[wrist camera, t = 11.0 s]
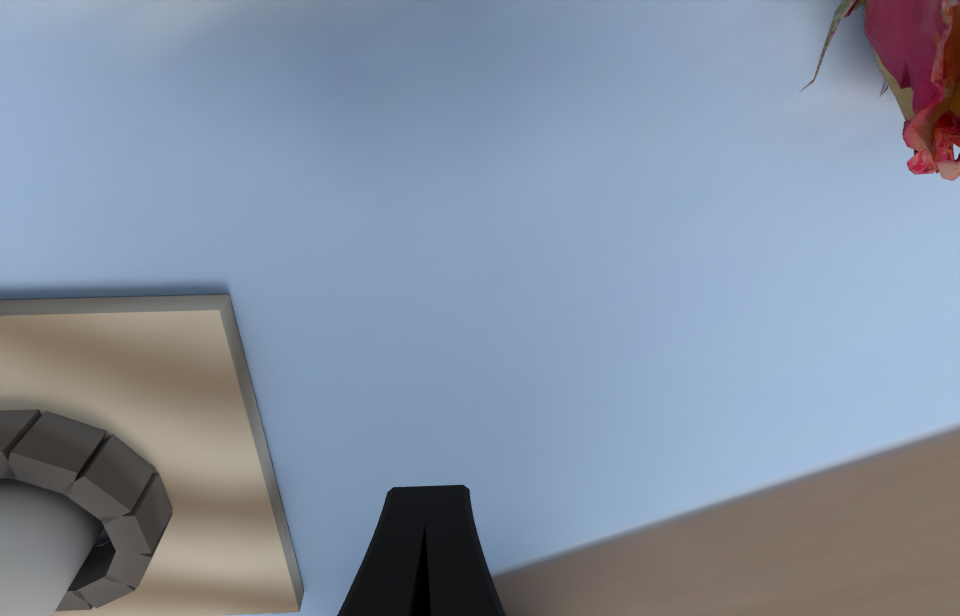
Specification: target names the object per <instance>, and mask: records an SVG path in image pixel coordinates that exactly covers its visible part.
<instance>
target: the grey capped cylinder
mask: <svg viewBox="0 0 960 616" xmlns="http://www.w3.org/2000/svg"><path fill="white" fill-rule="evenodd" d="M103 529H104V525H103V523H102V521H101V520H99V519H98V518H97V517H95V516H94V515H92V514H91V513H90V512H88V511H87V510H85V509H84V508H83V507H81V506H80V505H78V504H77V503H76V502H74V501H73V500H71V499H70V498H68V497H67V496H66V495H64V494H62V493H59V492H56V491H52V490H49V489H45V488H42V487H39V486H35V485H32V484H29V483H25V482H22V481H19V480H15V479H12V478H2V479H0V616H52V615H53V613H54V612H55V610H56V608H57V607H58V605H59V603H60V602H61V600H62V598H63V596H64V595H65V593H66V591H67V590H68V588H69V586H70V585H71V583H72V581H73V580H74V578H75V576H76V575H77V573H78V571H79V569H80V568H81V566H82V564H83V563H84V561H85V559H86V558H87V556H88V554H89V553H90V551H91V549H92V548H93V546H94V544H95V542H96V541H97V539H98V537H99V536H100V534H101V532H102V531H103Z"/></svg>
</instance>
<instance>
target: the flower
mask: <svg viewBox="0 0 960 616" xmlns="http://www.w3.org/2000/svg"><path fill="white" fill-rule="evenodd" d="M862 4H864V33H865V35H866V36H867V38H868V40H869V41H870V43H871V45H872V48H873V51H874V53H875V56H876V59H877V62H878V66H879V70H880V71H881V73H882V75H883V77H884V78H885V80H886V82H887V83H888V85H889V87H890V89H891V90H892V92H893V94H894V96H895V97H896V100H897V102H898V104H899V107H900V109H901V111H902V113H903V116H904V118H905V120H906V121H905V122H904V128H903V139H904V141H905V143H906V145H907V147H910V148H912V149H914V156H913V157H912V158H911V159H910V160H909V161H908V162H907V166H908V168H909V170H910V171H911V172H913V173H914V174H929V173H934V172H935V171H936V173H938V172H940V174H941V177H942V178H944V179H948V180H951V181H952V180H955V179H956V178H958V177H959V176H960V153H959V156H958V159H956V160H954V152H953V143H954V144H955V145H957V146H958V147H960V0H843V1H842V2H841V4H840V6H839V7H838V9H837V10H836V12H835V14H834V17H833V20H832V23H831V26H830V29H829V32H828V35H827V39H826V42H825V45H824V48H823V51H822V54H821V57H820V60H819V64H818V67H817V70H816V73H815V77H814V79H813V80H812V81H811V82H810V83H809V84H808V85H807V86H809V85H810V84H811V83H813V81H814V80H815V78H816V76H817V74H818V71H819V68H820V65H821V62H822V59H823V57H824V54H825V51H826V49H827V47H828V45H829V43H830V41H831V39H832V37H833V35H834V33H835V30H836V28H837V26H838V24H839V23H840V21H841V20H842V19H843V18H845V17H847V16H849V15H850V14H851V12H852V11H853V10H856V9H857V8H858V7H860V6H861V5H862ZM888 85H887V88H888ZM807 86H806V87H807ZM806 87H805V88H806ZM805 88H803V89H805ZM887 88H886V89H885V91H886V90H887ZM803 89H802V90H803ZM802 90H801V91H802ZM801 91H800V92H801ZM885 91H884V92H885ZM884 92H883V93H884ZM881 96H882V95H881ZM881 96H880V97H881Z"/></svg>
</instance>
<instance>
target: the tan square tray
mask: <svg viewBox="0 0 960 616" xmlns="http://www.w3.org/2000/svg"><path fill="white" fill-rule="evenodd" d="M2 478H12V479H15V480H19V481H22V482H25V483H29V484H32V485H35V486H39V487H42V488H45V489H49V490H52V491H56V492H59V493H62V494H64V495H66V496H67V497H68V498H70V499H71V500H73V501H74V502H76V503H77V504H78V505H80V506H81V507H83V508H84V509H85V510H87V511H88V512H90V513H91V514H92V515H94V516H95V517H97V518H98V519H99V520H101V521H102V523H103V525H104V529H103V531H102V532H101V534H100V536H99V537H98V539H97V541H96V542H95V544H94V546H93V548H92V549H91V551H90V553H89V554H88V556H87V558H86V559H85V561H84V563H83V564H82V566H81V568H80V569H79V571H78V573H77V575H76V576H75V578H74V580H73V581H72V583H71V585H70V586H69V588H68V590H67V591H66V593H65V595H64V596H63V598H62V600H61V602H60V603H59V605H58V607H57V608H56V610H55V612H54V613H53V615H52V616H215V615H239V614H263V613H287V612H300V608H301V603H302V599H303V594H304V589H303V585H302V582H301V578H300V574H299V570H298V566H297V562H296V558H295V554H294V550H293V546H292V542H291V538H290V534H289V530H288V526H287V522H286V518H285V514H284V510H283V506H282V502H281V498H280V494H279V490H278V486H277V482H276V478H275V475H274V471H273V467H272V463H271V459H270V455H269V451H268V447H267V443H266V439H265V435H264V431H263V427H262V423H261V419H260V415H259V411H258V407H257V403H256V399H255V395H254V391H253V387H252V383H251V379H250V375H249V371H248V368H247V364H246V360H245V356H244V352H243V348H242V344H241V340H240V336H239V332H238V328H237V324H236V320H235V316H234V312H233V308H232V304H231V300H230V296H229V294H226V295H186V296H145V297H105V298H64V299H24V300H0V479H2Z"/></svg>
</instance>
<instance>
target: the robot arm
mask: <svg viewBox="0 0 960 616" xmlns="http://www.w3.org/2000/svg"><path fill="white" fill-rule="evenodd" d="M337 616H506V615H505V612H504V610H503V607H502V605H501V602H500V599H499V597H498V594H497V591H496V589H495V586H494V583H493V581H492V578H491V575H490V573H489V570H488V567H487V564H486V561H485V558H484V555H483V551H482V548H481V544H480V541H479V538H478V534H477V530H476V526H475V522H474V518H473V513H472V507H471V501H470V492H469V489H468V488H467V487H465V486H464V485H445V486H417V487H393V488H392V489H391V490H390V491H388V492H387V496H386V499H385V503H384V506H383V509H382V512H381V515H380V518H379V521H378V524H377V527H376V530H375V532H374V535H373V537H372V540H371V542H370V545H369V547H368V550H367V552H366V555H365V557H364V559H363V562H362V564H361V566H360V568H359V570H358V573H357V575H356V577H355V579H354V581H353V584H352V586H351V588H350V590H349V592H348V594H347V597H346V599H345V601H344V603H343V605H342V607H341V609H340V611H339V613H338V615H337Z"/></svg>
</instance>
